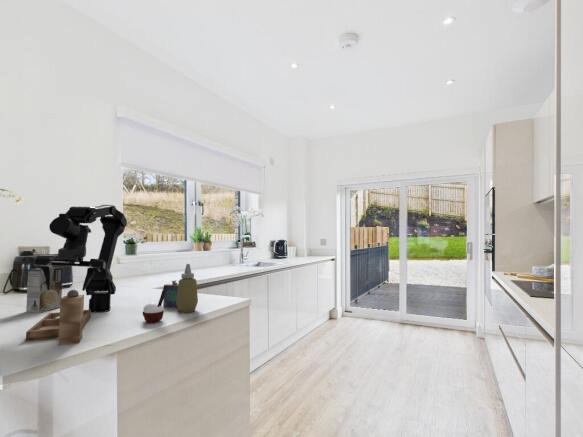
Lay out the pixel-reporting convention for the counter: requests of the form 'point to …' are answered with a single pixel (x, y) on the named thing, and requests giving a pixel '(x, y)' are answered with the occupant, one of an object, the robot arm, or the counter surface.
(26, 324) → the counter surface
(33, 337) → the tray
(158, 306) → the rice bowl with chopsticks
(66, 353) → the counter surface
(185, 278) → the squeeze bottle
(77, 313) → the pepper mill
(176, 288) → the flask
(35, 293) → the coffee box
